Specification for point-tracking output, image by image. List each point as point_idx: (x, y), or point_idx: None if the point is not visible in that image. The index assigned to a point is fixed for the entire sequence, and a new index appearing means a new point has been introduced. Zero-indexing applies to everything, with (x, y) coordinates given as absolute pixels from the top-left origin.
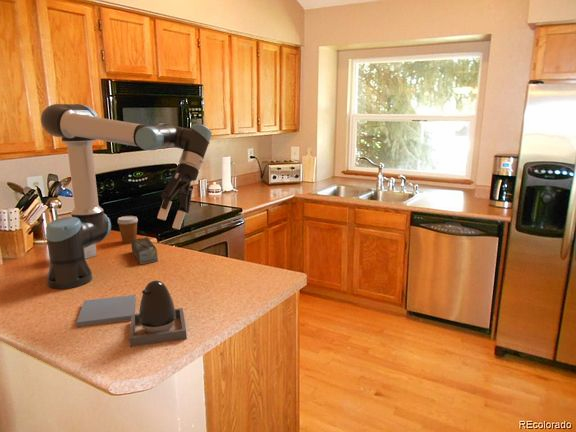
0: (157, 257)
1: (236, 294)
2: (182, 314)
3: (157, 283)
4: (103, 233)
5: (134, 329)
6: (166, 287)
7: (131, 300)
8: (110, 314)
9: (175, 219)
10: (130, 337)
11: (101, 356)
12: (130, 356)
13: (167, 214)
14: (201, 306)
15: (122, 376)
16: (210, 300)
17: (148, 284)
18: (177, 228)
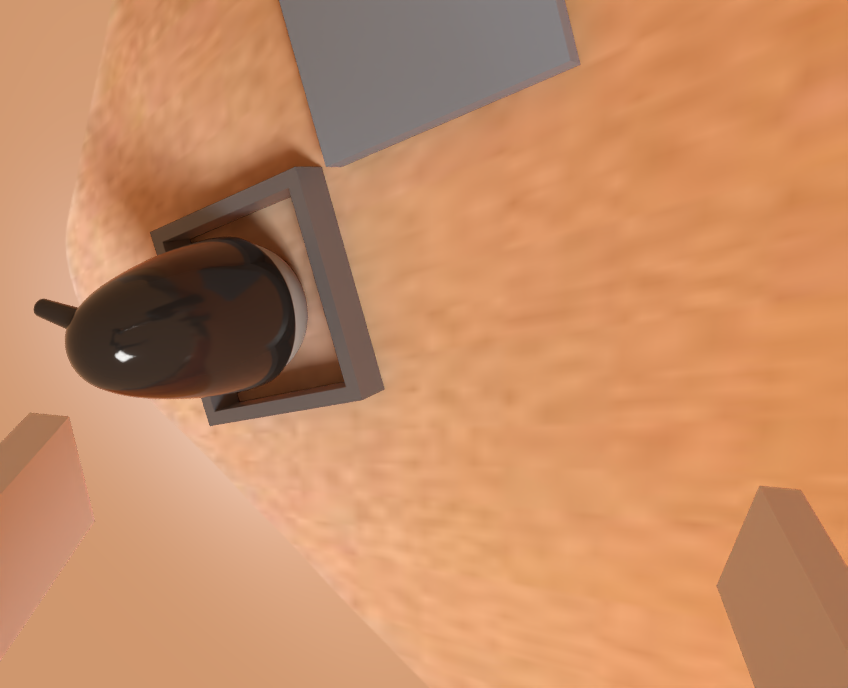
0: None
1: (614, 666)
2: (308, 404)
3: (72, 366)
4: None
5: (228, 217)
6: (131, 394)
7: (482, 75)
8: (325, 37)
9: (824, 641)
10: (154, 234)
11: (130, 152)
12: (141, 249)
13: (35, 603)
14: (471, 472)
15: (77, 258)
16: (540, 521)
17: (71, 318)
18: (726, 569)
